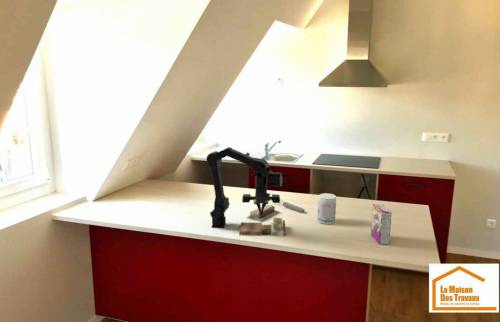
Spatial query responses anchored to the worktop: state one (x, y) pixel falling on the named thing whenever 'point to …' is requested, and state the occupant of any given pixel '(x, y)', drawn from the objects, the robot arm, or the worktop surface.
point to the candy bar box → (381, 224)
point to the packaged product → (265, 215)
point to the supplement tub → (326, 208)
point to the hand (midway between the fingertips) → (261, 214)
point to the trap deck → (261, 229)
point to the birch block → (277, 223)
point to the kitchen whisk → (291, 206)
